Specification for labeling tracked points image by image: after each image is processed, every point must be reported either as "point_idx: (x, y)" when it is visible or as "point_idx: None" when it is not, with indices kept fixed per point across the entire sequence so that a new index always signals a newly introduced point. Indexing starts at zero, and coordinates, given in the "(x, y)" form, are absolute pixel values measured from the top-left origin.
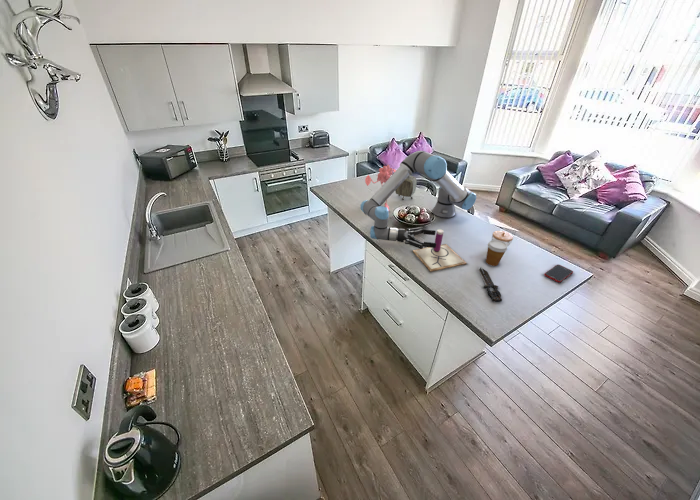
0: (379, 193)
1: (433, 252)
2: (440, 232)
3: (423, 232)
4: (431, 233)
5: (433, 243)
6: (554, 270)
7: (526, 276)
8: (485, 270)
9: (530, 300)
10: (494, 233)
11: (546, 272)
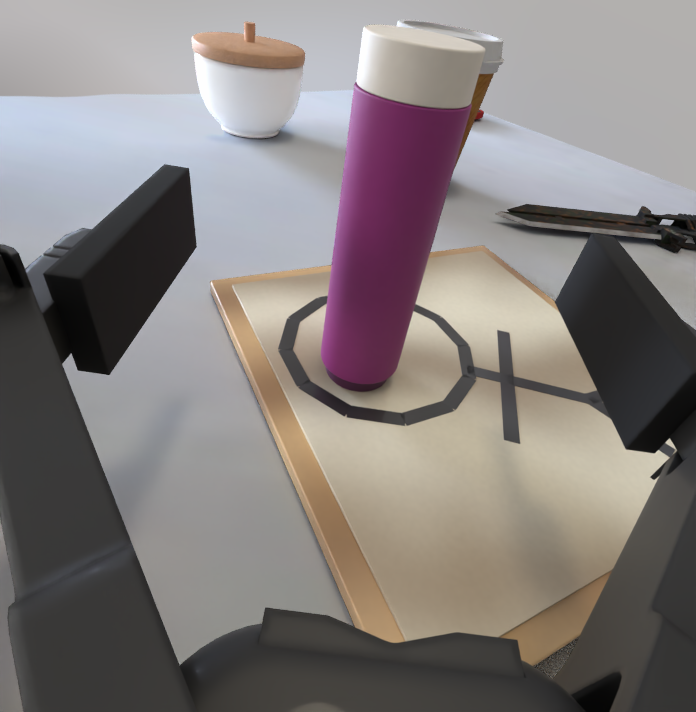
0: None
1: (405, 402)
2: (482, 47)
3: (71, 351)
4: (170, 251)
5: (632, 259)
6: None
7: (479, 147)
8: (522, 206)
9: (633, 180)
10: (227, 46)
11: None
